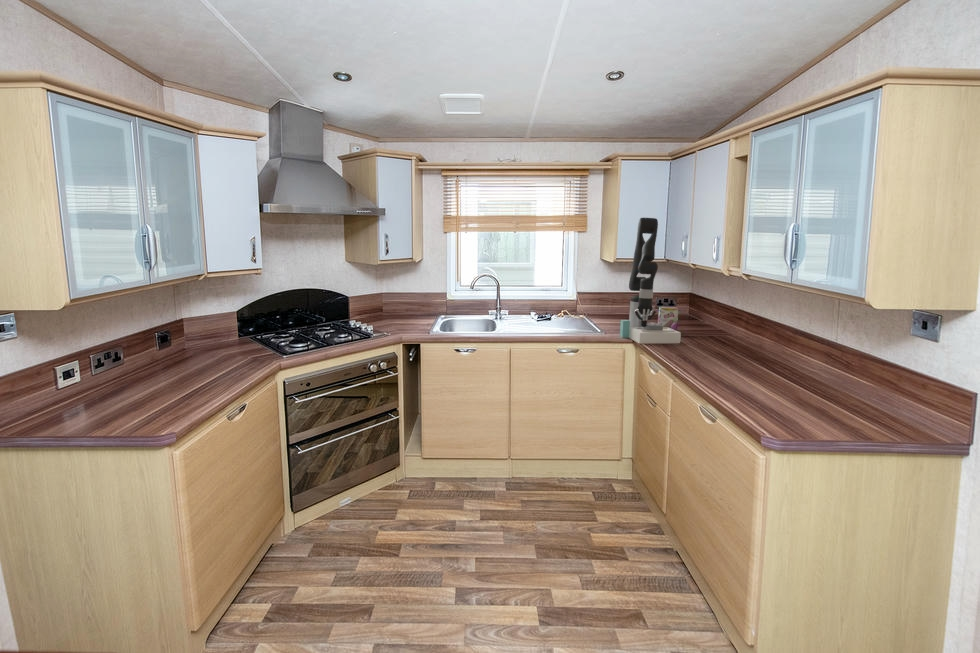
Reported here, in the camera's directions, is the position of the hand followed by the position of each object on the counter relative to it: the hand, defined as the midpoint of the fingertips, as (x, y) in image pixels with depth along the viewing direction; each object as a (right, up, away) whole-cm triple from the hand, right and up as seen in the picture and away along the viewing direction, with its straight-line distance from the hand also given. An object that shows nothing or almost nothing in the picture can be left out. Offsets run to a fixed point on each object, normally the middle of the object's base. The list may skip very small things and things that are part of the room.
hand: (643, 326), depth 298 cm
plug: (-8, -6, +10) cm, 15 cm away
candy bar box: (+21, -4, +23) cm, 32 cm away
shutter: (+6, -2, +1) cm, 6 cm away
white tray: (+6, -8, +2) cm, 10 cm away
